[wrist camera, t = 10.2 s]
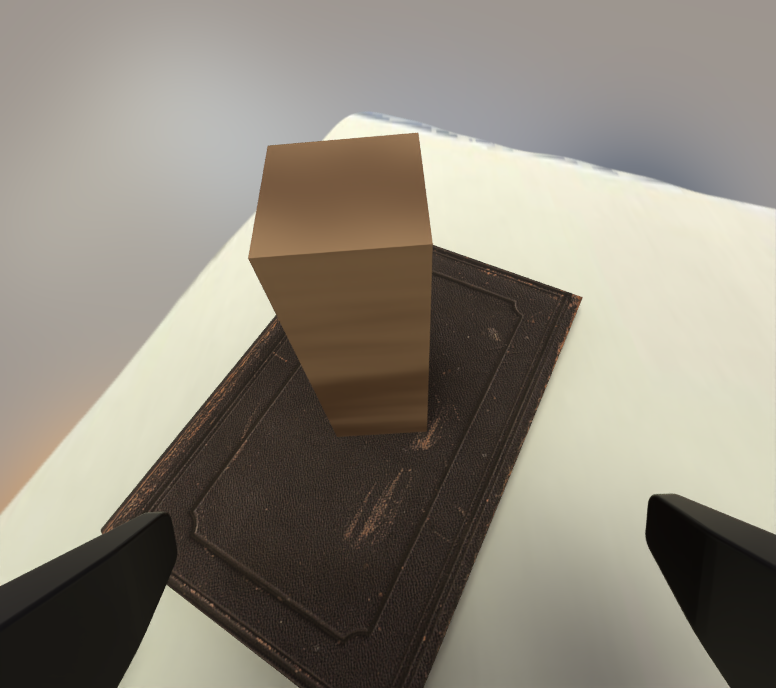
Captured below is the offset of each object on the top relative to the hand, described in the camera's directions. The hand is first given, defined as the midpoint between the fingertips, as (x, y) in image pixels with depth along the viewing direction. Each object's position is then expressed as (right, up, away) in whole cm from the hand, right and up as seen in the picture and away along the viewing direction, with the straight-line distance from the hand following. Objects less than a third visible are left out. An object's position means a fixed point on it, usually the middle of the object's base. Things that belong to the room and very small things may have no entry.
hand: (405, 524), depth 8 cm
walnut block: (-1, +1, +15) cm, 15 cm away
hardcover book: (-1, -1, +17) cm, 17 cm away
